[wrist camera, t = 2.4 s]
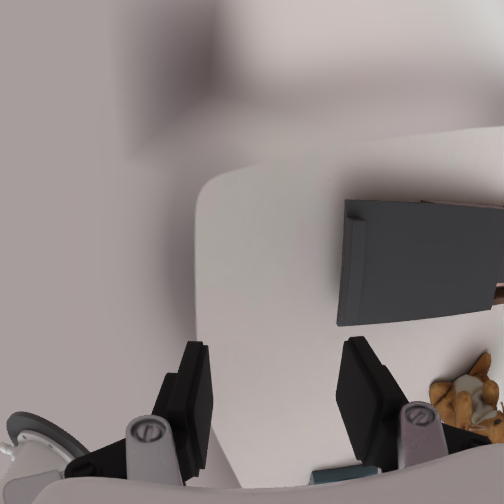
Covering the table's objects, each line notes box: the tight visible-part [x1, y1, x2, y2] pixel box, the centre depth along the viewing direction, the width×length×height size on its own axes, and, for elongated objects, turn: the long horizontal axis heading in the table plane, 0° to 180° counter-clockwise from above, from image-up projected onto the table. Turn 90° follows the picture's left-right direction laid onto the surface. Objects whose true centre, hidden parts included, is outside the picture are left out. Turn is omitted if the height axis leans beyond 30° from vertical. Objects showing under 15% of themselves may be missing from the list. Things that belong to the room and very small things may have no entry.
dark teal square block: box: [309, 465, 378, 485], centre depth 36 cm, size 10×8×4 cm
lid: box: [336, 199, 504, 326], centre depth 24 cm, size 18×11×2 cm, turn 91°
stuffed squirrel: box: [430, 353, 504, 444], centre depth 27 cm, size 10×14×13 cm
